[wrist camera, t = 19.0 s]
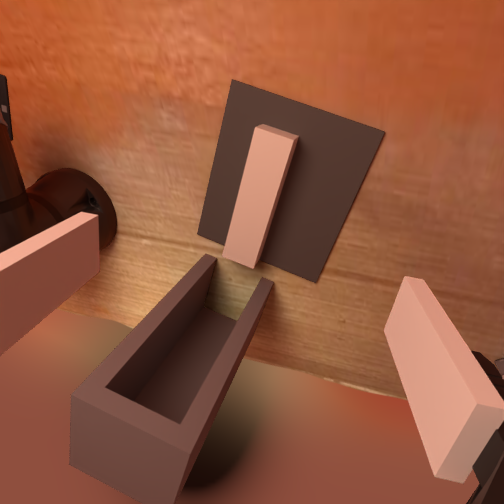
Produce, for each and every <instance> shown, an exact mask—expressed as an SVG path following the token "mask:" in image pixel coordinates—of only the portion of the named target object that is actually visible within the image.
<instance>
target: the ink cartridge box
mask: <svg viewBox="0 0 504 504" xmlns="http://www.w3.org/2000/svg"><path fill="white" fill-rule="evenodd" d="M495 364H496V366H497V368H498V370H499V372H500V374H501V376H502V379H504V358H502V359H498V360H495Z"/></svg>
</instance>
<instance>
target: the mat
mask: <svg viewBox="0 0 504 504" xmlns="http://www.w3.org/2000/svg"><path fill="white" fill-rule="evenodd" d="M261 124H265V125H268V126H271V127H274V128H277V129H280V130H282V131H285V132H288V133H291V134H294V135H297V136H299V138H298V141H297V144H296V147H295V150H294V153H293V157H292V160H291V163H290V166H289V169H288V172H287V175H286V178H285V181H284V185H283V188H282V191H281V194H280V197H279V200H278V203H277V206H276V210H275V213H274V216H273V219H272V222H271V225H270V228H269V231H268V234H267V238H266V241H265V244H264V247H263V250H262V253H261V256H260V259H259V260H261V261H263V262H266V263H268V264H271V265H273V266H276V267H278V268H280V269H283V270H285V271H288V272H290V273H293V274H295V275H297V276H300V277H302V278H305V279H307V280H310V281H312V282H314V283H316V281H317V279H318V277H319V275H320V273H321V270H322V268H323V266H324V264H325V262H326V259H327V257H328V255H329V253H330V251H331V249H332V246H333V244H334V242H335V240H336V238H337V235H338V233H339V231H340V229H341V227H342V224H343V222H344V220H345V218H346V216H347V214H348V211H349V209H350V207H351V205H352V203H353V200H354V198H355V196H356V194H357V192H358V190H359V187H360V185H361V183H362V181H363V179H364V176H365V174H366V172H367V170H368V168H369V165H370V163H371V161H372V159H373V157H374V155H375V152H376V150H377V148H378V146H379V144H380V141H381V139H382V137H383V135H384V133H385V132H384V131H382V130H379V129H376V128H373V127H370V126H367V125H364V124H361V123H358V122H355V121H352V120H350V119H347V118H344V117H341V116H338V115H335V114H332V113H329V112H326V111H323V110H320V109H318V108H315V107H312V106H309V105H306V104H303V103H300V102H297V101H294V100H291V99H288V98H285V97H283V96H280V95H277V94H274V93H271V92H268V91H265V90H262V89H259V88H256V87H253V86H251V85H248V84H245V83H242V82H239V81H236V80H233V79H232V82H231V86H230V91H229V95H228V99H227V104H226V108H225V113H224V117H223V122H222V126H221V130H220V135H219V139H218V144H217V148H216V153H215V157H214V162H213V166H212V170H211V175H210V179H209V184H208V188H207V193H206V197H205V201H204V206H203V210H202V215H201V219H200V224H199V228H198V233H197V234H198V235H200V236H203V237H205V238H207V239H210V240H212V241H215V242H217V243H220V244H222V245H224V246H225V243H226V239H227V235H228V231H229V227H230V223H231V220H232V216H233V212H234V208H235V204H236V200H237V196H238V192H239V188H240V184H241V180H242V177H243V173H244V169H245V165H246V161H247V157H248V153H249V149H250V145H251V141H252V137H253V134H254V130H255V127H256V126H259V125H261Z"/></svg>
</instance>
